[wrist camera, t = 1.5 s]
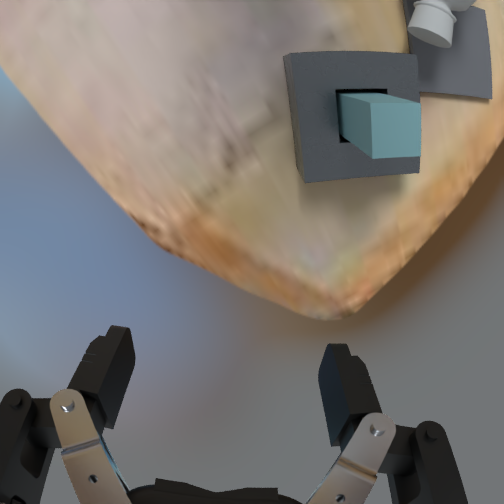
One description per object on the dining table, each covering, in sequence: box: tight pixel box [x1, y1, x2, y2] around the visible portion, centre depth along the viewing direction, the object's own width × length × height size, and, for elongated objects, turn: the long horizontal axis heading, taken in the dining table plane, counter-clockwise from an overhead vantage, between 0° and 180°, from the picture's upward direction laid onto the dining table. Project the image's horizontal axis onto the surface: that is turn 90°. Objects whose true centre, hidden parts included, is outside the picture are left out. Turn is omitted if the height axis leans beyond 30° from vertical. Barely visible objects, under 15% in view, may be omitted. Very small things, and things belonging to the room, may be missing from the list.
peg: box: [335, 90, 421, 159], centre depth 24 cm, size 4×4×12 cm
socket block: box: [283, 51, 420, 183], centre depth 27 cm, size 12×12×5 cm
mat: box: [403, 0, 492, 99], centre depth 24 cm, size 12×12×1 cm
